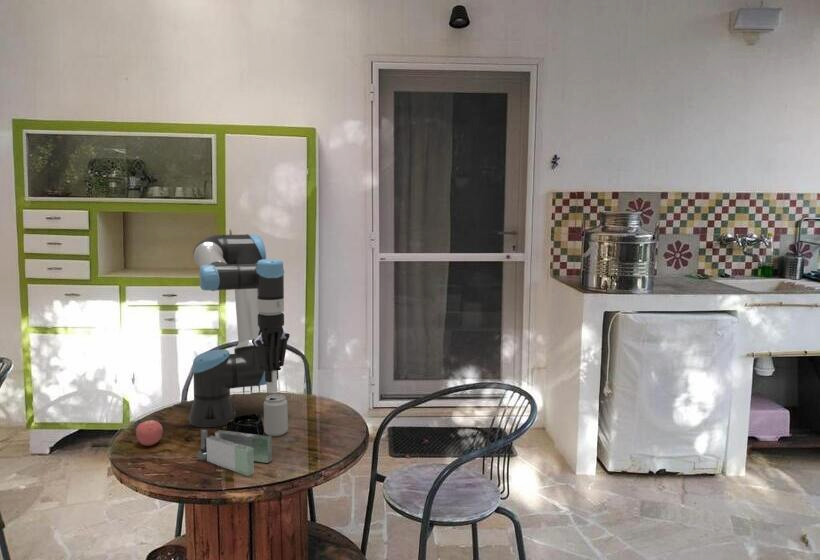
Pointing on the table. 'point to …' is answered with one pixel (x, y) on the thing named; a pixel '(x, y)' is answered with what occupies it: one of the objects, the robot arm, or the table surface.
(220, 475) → the table surface
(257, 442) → the tong jaw
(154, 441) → the apple
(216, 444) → the base
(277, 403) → the can
